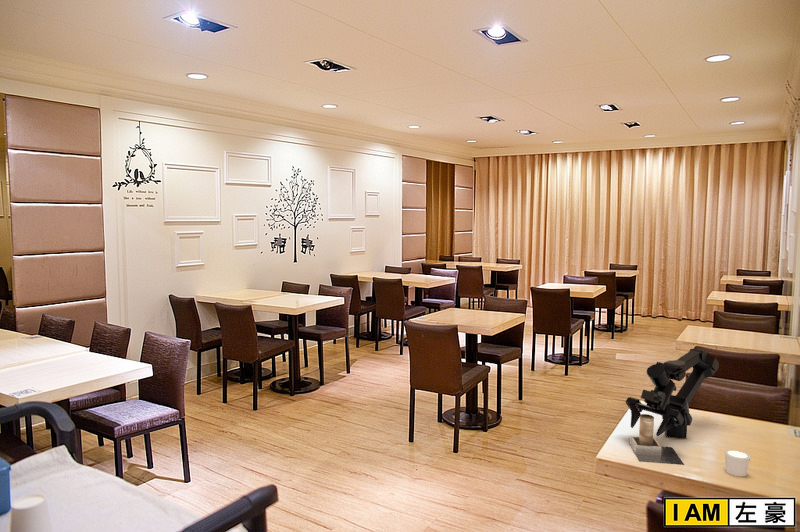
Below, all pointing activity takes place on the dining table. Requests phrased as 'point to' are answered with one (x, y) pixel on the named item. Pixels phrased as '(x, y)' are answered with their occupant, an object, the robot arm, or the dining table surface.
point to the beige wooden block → (646, 430)
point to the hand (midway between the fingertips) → (644, 431)
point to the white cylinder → (737, 462)
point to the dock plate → (654, 452)
